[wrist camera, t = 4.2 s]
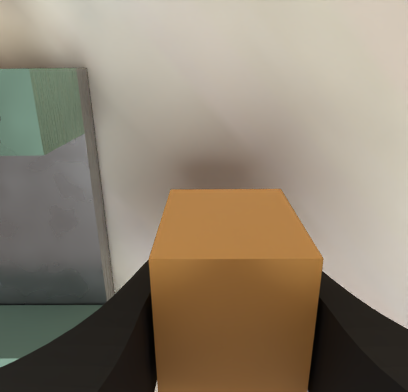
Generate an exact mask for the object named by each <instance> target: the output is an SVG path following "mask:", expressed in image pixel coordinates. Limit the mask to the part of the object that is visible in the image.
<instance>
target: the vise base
mask: <svg viewBox="0 0 408 392" xmlns="http://www.w3.org/2000/svg"><path fill="white" fill-rule="evenodd" d="M113 296H114V288H113V279H112V271H111V263H110V255H109V247H108V238H107V230H106V222H105V214H104V206H103V198H102V189H101V181H100V173H99V165H98V157H97V148H96V140H95V132H94V124H93V116H92V107H91V99H90V91H89V83H88V75H87V68H32V69H0V305H104V304H105V303H106V302H107V301H108V300H109V299H110V298H112V297H113Z"/></svg>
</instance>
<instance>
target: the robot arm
mask: <svg viewBox="0 0 408 392" xmlns="http://www.w3.org/2000/svg"><path fill="white" fill-rule="evenodd" d="M156 382H157V370H156V355H155V341H154V327H153V313H152V299H151V284H150V270H149V260H148V261H147V262H146V263H145V264H144V265H143V266H142V267H141V268H140V269H139V270H138V271H137V272H136V273H135V275H134V276H133V277H132V278H131V279H130V280H129V281H128V282H127V283H126V284H125V285H124V286H123V287H122V288H121V289H120V290H119V291H118V292H117V293H116V294H115V295H114V296H113V297H112V298H110V299H109V300H108V301H107V302H106V303H105V304H104V305H103V306H102V307H100V308H99V309H98V310H97V311H95V312H94V313H93V314H92V315H90V316H89V317H88V318H86V319H85V320H83V321H82V322H81V323H79V324H78V325H76V326H75V327H73V328H72V329H70V330H69V331H67V332H65V333H64V334H62V335H61V336H59V337H57V338H56V339H54V340H53V341H51V342H49V343H48V344H46V345H44V346H42V347H40V348H39V349H37V350H35V351H33V352H31V353H29V354H27V355H25V356H23V357H21V358H19V359H17V360H15V361H13V362H11V363H9V364H7V365H5V366H2V367H0V392H154V391H155V386H156ZM307 392H408V329H406V328H405V327H403V326H401V325H399V324H398V323H396V322H394V321H392V320H391V319H389V318H387V317H385V316H384V315H382V314H380V313H379V312H377V311H376V310H374V309H373V308H371V307H370V306H368V305H367V304H365V303H364V302H362V301H361V300H359V299H358V298H356V297H355V296H354V295H352V294H351V293H350V292H348V291H347V290H346V289H344V288H343V287H342V286H340V285H339V284H338V283H336V282H335V281H334V280H333V279H331V278H330V277H329V276H328V275H326V274H325V273H324V272H323V271H322V274H321V283H320V291H319V299H318V307H317V316H316V324H315V332H314V340H313V349H312V357H311V365H310V374H309V382H308V390H307Z"/></svg>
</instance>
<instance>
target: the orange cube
mask: <svg viewBox="0 0 408 392" xmlns="http://www.w3.org/2000/svg"><path fill="white" fill-rule="evenodd" d="M322 266H323V257H322V256H321V254H320V252H319V251H318V249H317V247H316V246H315V244H314V243H313V241H312V239H311V238H310V236H309V234H308V233H307V231H306V229H305V228H304V226H303V225H302V223H301V221H300V220H299V218H298V216H297V215H296V213H295V211H294V210H293V208H292V207H291V205H290V203H289V202H288V200H287V198H286V197H285V195H284V194H283V192H282V190H281V189H171V190H170V193H169V196H168V199H167V202H166V206H165V209H164V212H163V215H162V218H161V222H160V225H159V228H158V231H157V234H156V237H155V241H154V244H153V247H152V250H151V253H150V257H149V270H150V284H151V299H152V313H153V327H154V341H155V355H156V370H157V384H158V392H307V390H308V382H309V374H310V365H311V357H312V349H313V340H314V332H315V324H316V316H317V307H318V299H319V291H320V283H321V274H322Z"/></svg>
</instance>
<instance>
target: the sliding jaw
mask: <svg viewBox="0 0 408 392" xmlns="http://www.w3.org/2000/svg"><path fill="white" fill-rule="evenodd" d="M102 306H103V305H0V367H2V366H5V365H7V364H9V363H11V362H13V361H15V360H17V359H19V358H21V357H23V356H25V355H27V354H29V353H31V352H33V351H35V350H37V349H39V348H40V347H42V346H44V345H46V344H48V343H49V342H51V341H53V340H54V339H56V338H57V337H59V336H61V335H62V334H64V333H65V332H67V331H69V330H70V329H72V328H73V327H75V326H76V325H78V324H79V323H81V322H82V321H83V320H85V319H86V318H88V317H89V316H90V315H92V314H93V313H94V312H95V311H97V310H98V309H99V308H100V307H102Z"/></svg>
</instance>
